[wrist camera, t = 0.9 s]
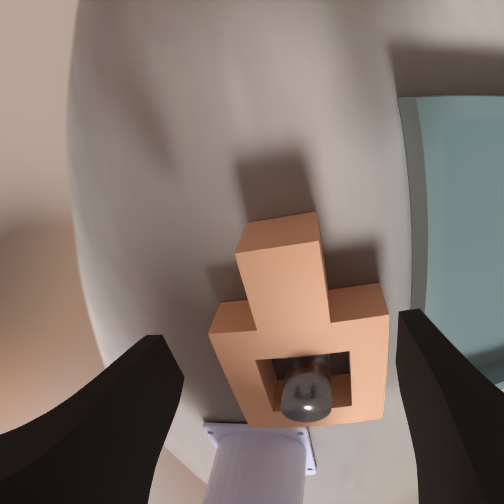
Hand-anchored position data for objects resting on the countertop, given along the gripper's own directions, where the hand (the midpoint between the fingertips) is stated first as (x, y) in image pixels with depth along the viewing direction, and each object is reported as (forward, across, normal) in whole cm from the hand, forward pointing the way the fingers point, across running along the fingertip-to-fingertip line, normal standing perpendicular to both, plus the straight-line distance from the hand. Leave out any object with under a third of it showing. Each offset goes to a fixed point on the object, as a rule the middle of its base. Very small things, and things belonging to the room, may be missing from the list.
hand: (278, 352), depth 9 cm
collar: (+6, 0, +4) cm, 7 cm away
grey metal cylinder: (+6, 0, +6) cm, 9 cm away
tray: (+6, -12, +2) cm, 14 cm away
